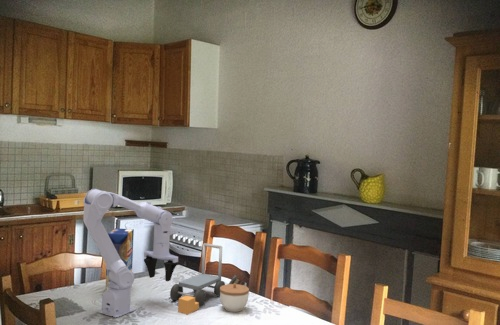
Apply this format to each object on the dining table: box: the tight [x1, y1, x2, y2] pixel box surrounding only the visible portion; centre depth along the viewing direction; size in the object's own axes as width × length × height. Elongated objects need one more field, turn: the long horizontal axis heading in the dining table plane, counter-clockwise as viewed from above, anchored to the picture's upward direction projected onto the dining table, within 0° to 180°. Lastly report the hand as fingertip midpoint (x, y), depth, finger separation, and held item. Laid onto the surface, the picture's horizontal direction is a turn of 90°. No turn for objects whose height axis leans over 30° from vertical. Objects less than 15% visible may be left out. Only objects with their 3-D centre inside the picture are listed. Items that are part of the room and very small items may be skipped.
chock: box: [177, 295, 200, 315], centre depth 169 cm, size 7×4×5 cm, turn 151°
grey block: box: [228, 273, 248, 287], centre depth 191 cm, size 10×7×12 cm
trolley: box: [169, 242, 226, 307], centre depth 183 cm, size 20×12×20 cm, turn 151°
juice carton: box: [105, 227, 135, 291], centre depth 186 cm, size 12×8×24 cm, turn 2°
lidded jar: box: [219, 283, 250, 313], centre depth 173 cm, size 11×11×9 cm
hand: (159, 278), depth 174 cm, fingers open, 7 cm apart
